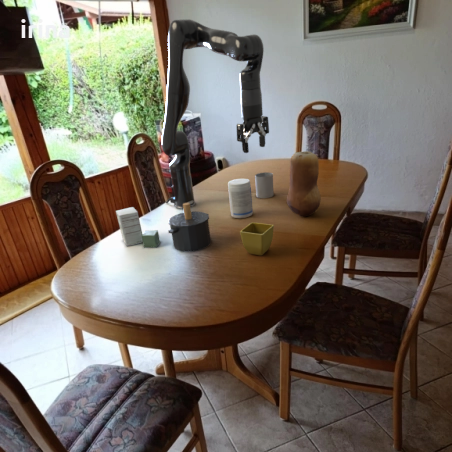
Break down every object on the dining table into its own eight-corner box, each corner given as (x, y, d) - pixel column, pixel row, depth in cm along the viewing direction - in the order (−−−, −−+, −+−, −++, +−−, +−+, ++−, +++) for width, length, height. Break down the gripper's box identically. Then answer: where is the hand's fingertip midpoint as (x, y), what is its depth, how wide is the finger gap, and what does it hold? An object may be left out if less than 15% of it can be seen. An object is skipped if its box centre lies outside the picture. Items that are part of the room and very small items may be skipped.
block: (144, 247, 154) (141, 235, 151) (148, 242, 158) (145, 230, 155) (156, 247, 153) (153, 235, 150) (160, 242, 157) (157, 230, 154)
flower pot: (263, 259, 135) (262, 234, 130) (241, 255, 139) (239, 231, 134) (275, 249, 141) (274, 224, 136) (253, 245, 145) (251, 222, 141)
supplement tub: (257, 214, 172) (255, 180, 165) (239, 220, 168) (236, 186, 161) (244, 209, 179) (241, 176, 172) (226, 215, 175) (223, 181, 168)
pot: (161, 250, 150) (156, 226, 145) (195, 231, 162) (192, 209, 157) (188, 257, 142) (184, 232, 137) (222, 237, 154) (219, 214, 149)
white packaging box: (122, 240, 162) (115, 210, 156) (140, 236, 164) (133, 206, 158) (126, 246, 156) (118, 215, 150) (144, 242, 158) (137, 211, 152)
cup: (254, 197, 193) (252, 177, 188) (259, 192, 199) (258, 172, 194) (270, 198, 190) (270, 177, 184) (275, 193, 196) (275, 172, 191)
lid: (160, 225, 147) (157, 207, 144) (188, 212, 157) (185, 195, 153) (190, 231, 139) (187, 213, 135) (217, 217, 148) (215, 200, 145)
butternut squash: (326, 212, 167) (328, 149, 154) (308, 222, 159) (309, 157, 146) (298, 207, 175) (298, 147, 162) (280, 216, 167) (278, 155, 154)
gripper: (258, 98, 148) (260, 143, 157) (229, 106, 141) (233, 153, 150) (273, 99, 143) (274, 146, 152) (243, 107, 136) (247, 156, 145)
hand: (254, 149), depth 151 cm, fingers open, 8 cm apart
